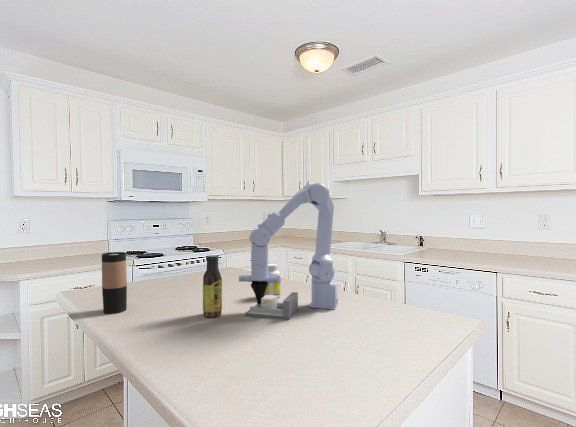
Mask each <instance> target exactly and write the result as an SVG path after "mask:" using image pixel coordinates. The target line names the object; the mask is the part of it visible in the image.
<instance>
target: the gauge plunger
mask: <svg viewBox="0 0 576 427" xmlns="http://www.w3.org/2000/svg"><path fill="white" fill-rule="evenodd" d="M277 302H278V298H277V296H275V295H265V296H264V297H263V298H261V307H264V308H277Z"/></svg>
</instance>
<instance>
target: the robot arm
mask: <svg viewBox="0 0 576 427" xmlns="http://www.w3.org/2000/svg"><path fill="white" fill-rule="evenodd" d="M308 203H310V204H312V205H313V206H314V207H315V208H316V209H317V211H318V216H317V227H316V240H315V241H316V242H315V250H314V252H315V253H314V255H313V256H312V260H311V263H310V265H309V267H308V271H309V274H310V276H311V280H310V281H311V302H310V303H309V304H308V308H313V309H314V308H316V309H326V310H327V309H329V310H335V309H336V308H337V306H338V304H339V297H338V295H339V294H338V293H339V290H338V289H339V287H338V286H339V285H338V282H337V281H332V280H333V279H334V276H335V268H334V266H333V265H334V264H333V263H334V262H333V259H332V257H331V245H332V244H331V243H332V234H333V220H334V210H335V209H334V208H335V206H334V202H333V201H332V198H331V196H330V189H329V188H328V187H326V186H325V185H324V184H323V183H322V182H321V183H320V182H316V183H311V184H310V183H309V184H306V185H304V186H303V187H302V188H300V189H299V190H298V191H297V192H296V193H295V194H294V195H293V196H292V198H290V199H289V201H287V203H286V204H284V205H283V207H282V208H281V209H280V210H279V211H278V212H272V213H268V214H267V216H266V217H267V218H266V219H264V221H262V222H261V223H259V224H257V228H254V229H252V230H251V232H250V234H249V238H248V239H249V241H250V243H251V249H250V250H251V251H250V256H251V257H250V263H251V264H250V265H251V274H240V275H239V276H238V282H240V283H242V282H245V283H246V282H247V283H250V288H251V289H252V291H253V293H254V295H255V300H256V304H261V298H263V297H264V293H265V291H266V288H267V286H268V284H269V283H277V284H280V285H281V283H282V277H281V276H280V277H276V276H269V275H268V264H269V249H268V246H269V243H270V240H271V238H272V237H273V236H274V235H275V234H276V233H277V232H278V231H279V230H280V229H281V228H282V227H284V226H285V222H286V218H288V217H289V216H290V215H291V214H292V213H293V212H294V211H295V210H297V209H298V208H299V207H300V206H301V205H303V204H308Z"/></svg>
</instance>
